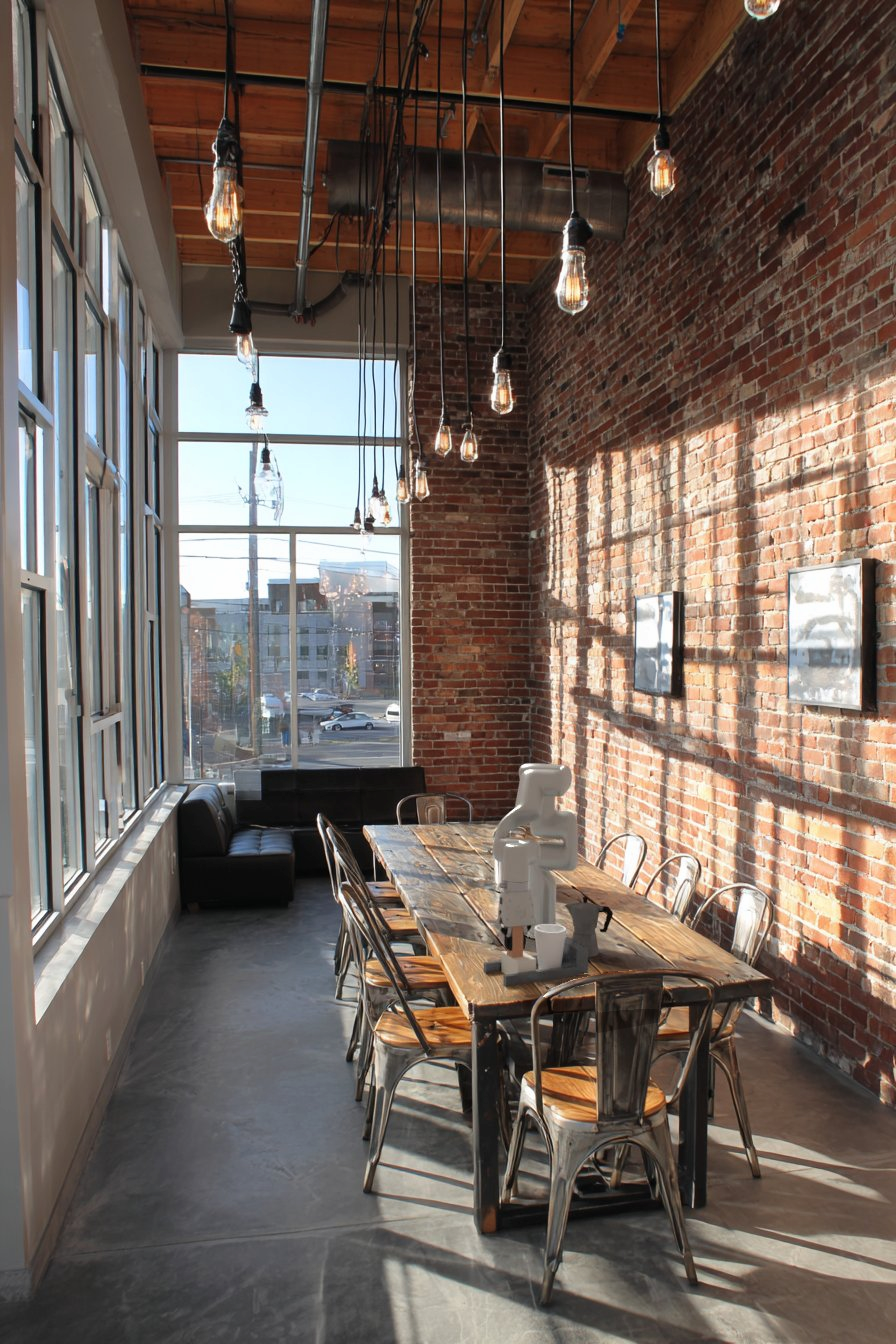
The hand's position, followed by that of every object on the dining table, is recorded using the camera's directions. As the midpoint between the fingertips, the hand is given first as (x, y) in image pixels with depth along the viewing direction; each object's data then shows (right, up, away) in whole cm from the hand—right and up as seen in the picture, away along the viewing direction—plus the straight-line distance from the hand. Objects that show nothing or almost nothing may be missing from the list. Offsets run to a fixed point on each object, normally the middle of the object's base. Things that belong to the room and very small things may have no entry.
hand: (515, 947), depth 276 cm
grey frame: (+7, -9, +3) cm, 11 cm away
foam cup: (+11, -9, +5) cm, 15 cm away
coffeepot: (+25, -9, +23) cm, 35 cm away
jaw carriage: (+1, -8, +1) cm, 8 cm away
